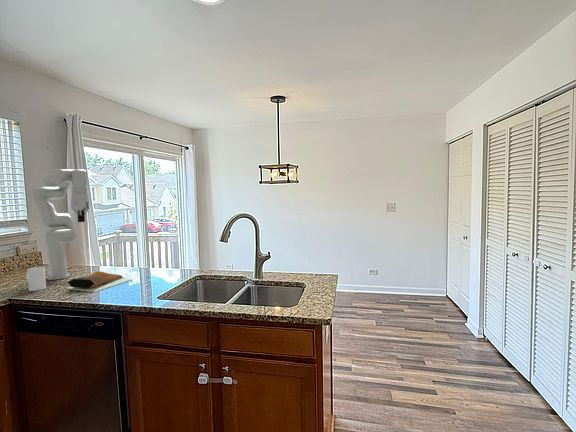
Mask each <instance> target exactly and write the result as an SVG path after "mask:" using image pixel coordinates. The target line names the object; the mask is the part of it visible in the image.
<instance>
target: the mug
mask: <svg viewBox="0 0 576 432" xmlns="http://www.w3.org/2000/svg"><path fill="white" fill-rule="evenodd" d="M26 271H27V272H26V275H25V278H26V279H25V280H26V281H27V283H28V288H27V290H28V291H30V292H32V291H33V292H34V291H37V292H38V291H42V290H45V289H47V284H46V283H47V282H46V280H47V278H46V269H45V266H35V267H30V268H27V269H26Z"/></svg>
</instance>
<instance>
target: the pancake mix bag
mask: <svg viewBox="0 0 576 432" xmlns="http://www.w3.org/2000/svg"><path fill="white" fill-rule="evenodd" d="M120 278H124V277H123V275H121V274H114V273H108V272H105V271H98V270H97V271H94V272H92V273H91V274H89V275H87V276H82V277H77V278H72V279H70V281H68V282H67V284H68V285H69V287H79V288H92V287H95V286H98V285H101V284H104V283H106V282H110V281H113V280H116V279H120Z"/></svg>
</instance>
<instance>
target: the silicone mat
mask: <svg viewBox="0 0 576 432" xmlns="http://www.w3.org/2000/svg"><path fill="white" fill-rule="evenodd" d="M133 279H134V278H132V279H131V278H125V277H123V278H120V279H116V280H113V281H110V282H106V283H104V284H101V285H98V286H95V287H92V288H79V287H71V286H69V287H67V288H66V290H73V291H82V292H89V293H90V292H91V293H97V292H99V291H103V290H105V289H106V290H107V289H109V288H112V287H115V286H118V285H121V284H124V283H128V282H130V281H133Z"/></svg>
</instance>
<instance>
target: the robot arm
mask: <svg viewBox="0 0 576 432" xmlns="http://www.w3.org/2000/svg"><path fill="white" fill-rule="evenodd" d="M87 177H88V176H87V171H86V170H85V169H68V168H67V169H65V168H63V169H62V168H61V169H60V168H59V169H54V170H51V173H47V174H45V175H44V176H43V178H42V182H43V184H44V185H45V186H39V187H36V188H34V189H33V190H32V193H31V196H32V200H33V203H34V204H35V206H36V207H37V209H38V211H39V214H40V218H41V221H42V223H43V225H44V227H45V229H48V230H47V231H46V232H45V233H44V240H45V244H46V248H47V260H48V261H47V262H48V271H47V272H46V274H47V275H48V276H47V277H46V280H50V281H56V280H61V279H62V280H63V279H66V278H69V277H70V276H71V275H70V273H68V268H67V267H68V266H67V255H66V248H65V247H64V246H63V245H62V244H66V243H72V242H75V241H76V240H77V237H78V236H77V231H76V228H75V225H74V221H73V219H72V216H71V215H70V214H69V213H65V212H59V213H58V212H57V210H56V208H55V206H54V205H53V204H52V203H51V202H50V201H49V200H53V201H55V200H56V201H57V200H58V201H59V200H63V199H65V197H66V195H67V193H68V190H69V188H70V186H71V188H72V189H71V190H72V192H71V197H70V209H71V210H72V211H73V212H74V213H76V215H77V223H84V222H86V217H85V215H86V213H88V212H89V210H90V199H89V194H88V179H87ZM49 229H50V230H49Z"/></svg>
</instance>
